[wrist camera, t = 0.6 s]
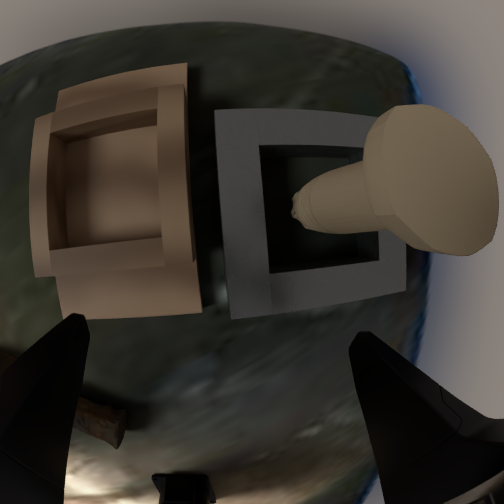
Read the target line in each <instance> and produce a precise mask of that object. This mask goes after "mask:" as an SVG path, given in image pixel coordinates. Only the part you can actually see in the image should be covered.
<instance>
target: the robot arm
mask: <svg viewBox="0 0 504 504" xmlns="http://www.w3.org/2000/svg"><path fill="white" fill-rule="evenodd" d="M89 341H90V333H89V329H88V325H87V322H86V318H85V316H84V315H83V314H78V313H71V314H70V315H69V316H67V317H66V318H65V319H64V320H62V321H61V322H60V323H59V324H57V325H56V326H55V327H54V328H52V329H51V330H50V331H49V332H48V333H46V334H45V335H44V336H43V337H42V338H40V339H39V340H38V341H37V342H36V343H35V344H33V345H32V346H31V347H30V348H29V349H28V350H26V351H25V352H24V353H23V354H22V355H21V356H20V357H18V358H17V359H16V360H15V361H14V362H13V363H12V364H11V365H9V366H8V367H7V368H6V369H5V370H4V371H3V372H2V373H1V374H0V504H64V487H65V476H66V467H67V459H68V452H69V445H70V439H71V433H72V428H73V422H74V417H75V413H76V408H77V403H78V399H79V395H80V391H81V387H82V382H83V376H84V370H85V363H86V357H87V351H88V346H89ZM349 357H350V362H351V367H352V372H353V377H354V382H355V387H356V391H357V395H358V398H359V402H360V405H361V408H362V412H363V416H364V419H365V423H366V426H367V430H368V434H369V438H370V441H371V445H372V449H373V453H374V457H375V461H376V465H377V470H378V474H379V478H380V483H381V487H382V492H383V497H384V501H385V504H504V419H492V418H488V417H485V416H484V415H482V414H481V413H479V412H478V411H476V410H474V409H473V408H471V407H470V406H468V405H467V404H465V403H464V402H462V401H461V400H459V399H458V398H456V397H455V396H454V395H452V394H451V393H450V392H448V391H447V390H446V389H444V388H443V387H442V386H440V385H439V384H438V383H436V382H435V381H434V380H432V379H431V378H430V377H429V376H427V375H426V374H425V373H423V372H422V371H421V370H420V369H418V368H417V367H416V366H414V365H413V364H412V363H411V362H409V361H408V360H407V359H405V358H404V357H403V356H401V355H400V354H399V353H398V352H396V351H395V350H394V349H392V348H391V347H390V346H388V345H387V344H386V343H384V342H383V341H382V340H381V339H379V338H378V337H377V336H375V335H374V334H373V333H371V332H370V331H360V332H358V333H357V335H356V336H355V338H354V340H353V341H352V343H351V345H350V347H349ZM152 481H153V482H154V484H155V486H156V488H157V489H158V491H159V493H160V498H159V504H214V503H216V498H215V495H214V493H213V490H212V487H211V484H210V482H209V479H208V476H206V475H152Z"/></svg>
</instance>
